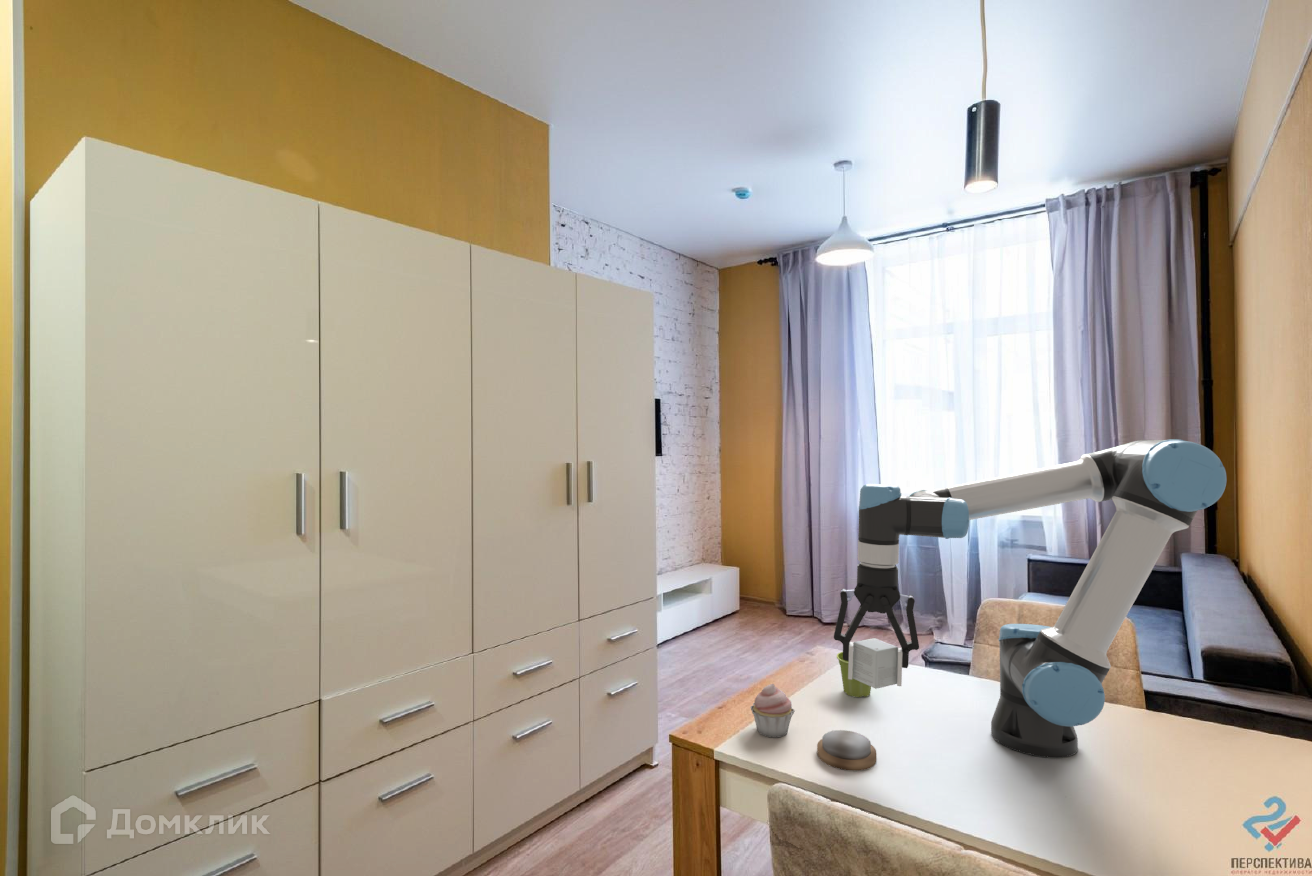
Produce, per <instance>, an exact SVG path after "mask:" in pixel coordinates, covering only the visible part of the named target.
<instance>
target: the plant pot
mask: <svg viewBox="0 0 1312 876" xmlns="http://www.w3.org/2000/svg"><path fill="white" fill-rule="evenodd" d="M836 660H838V663H839V667H840V673H841V679H842V688H843V692H844V693H845V695H848V696H849V697H854V698H861V697H865V698H866V697H870V695H871V691H872V687H871V686H869V685H866V684H864V683H862V682H860V681H857V680H855V679H853V674H852V680H851V679H848V665H849V661H847V660H843V651H840V652H838V653H837V654H836Z"/></svg>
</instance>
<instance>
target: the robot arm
mask: <svg viewBox="0 0 1312 876" xmlns="http://www.w3.org/2000/svg"><path fill="white" fill-rule="evenodd" d="M1226 486H1227V471H1226V468H1225V466H1224V465H1223V462H1222V461H1221V459H1220V457H1218V455H1217V454H1216V453H1215V452H1214V451H1212V450H1211V449H1210V448H1208V447H1206V446H1204V445H1203V444H1200V443H1197V442H1193V441H1187V440H1184V439H1179V438H1178V439H1177V438H1173V439H1172V438H1171V439H1165V440H1163V439H1160V440H1159V439H1141V440H1140V439H1139V440H1134V441H1131V442H1127V443H1124V444H1119V445H1117V446H1115V447H1114V446H1113V447H1109V448H1106V449H1102V450H1099V451H1098V450H1097V451H1094V452H1089V453H1085V454H1081V455H1080V458H1079V459H1078V460H1076V461H1072V462H1066V463H1062V464H1061V463H1060V464H1056V465H1051V466H1046V467H1042V468H1036V469H1032V470H1026V471H1020V472H1016V473H1010V474H1005V475H1001V476H997V477H996V476H995V477H991V478H986V479H981V480H976V481H970V482H966V483H962V484H961V483H960V484H955V485H950V486H946V487H942V488H936V489H935V488H934V489H931V490H925V489H921V490H917V491H914V492H912V493H910V494H909V495H907V496H906V495H902V492H901V488H900V486H899V485H894V484H893V485H892V484H884V483H883V484H881V483H867V484H865V485H863V486H862V487H860V491H859V492H860V493H859V501H858V502H859V503H858V536H857V538H858V539H857V560H858V562H859V563H858V564H857V568H856V569H857V571H856V575H857V576H856V586H855V587H854V589H846V588H842V589H840V594H839V595H840V601H841V603H840V607H839V612H838V616H837V619H836V623H835V624H836V625H835V630H834V632H833V640H834V641H837V642H840V643H841V644H842V652H843V660H847V661H849V665H848V679H851V680H852V674H853V643H854V641H852V639H853V637H854V635H855V634H856V631H857V629H858V628H859V626H860V624H861V623H862V620H863V619H864V616H866V613H867V612H868V613H878V614H879V613H880V614H886V617H887V619H888V620H889V623H890V625H891V627H892V629H893V632H894V634H895V636H896V638H897V640H898V643H899V645H900V647H898V664H897V684H896V686H897V687H902V683H903V682H902V681H903V677H902V676H903V669H908V667H909V655H910V652H912V651H914V650H915V651H918V650H919V649H920V643H919V638H918V632H917V626H916V621H915V615H914V614H915V613H914V607H915V602H916V601H915V598H914V595H913V594H909V595H906V594H901V593H900V590H899V587H898V585H899V583H898V582H899V568H898V566H897V565H898V564H899V554H900V553H899V552H900V536H901V535H902V536H914V537H915V536H918V537H930V538H931V537H932V538H943V539H962V538H963V539H964V538H965V537H966V536H967V534H968V532H969V527H970V521H971V520H977V519H983V518H987V517H993V516H994V517H995V516H999V515H1003V514H1005V515H1006V514H1009V513H1010V514H1011V513H1017V512H1021V511H1028V510H1031V509H1032V510H1033V509H1038V508H1043V507H1044V508H1045V507H1048V506H1054V505H1059V504H1061V505H1062V504H1066V503H1069V502H1077V501H1081V500H1088V499H1090V500H1092V501H1094V502H1096V503H1101V502H1105V501H1106V502H1107V501H1112V502H1113V505H1114V506H1115V510H1116V511H1115V512H1114V515H1113V516H1112V518H1111V520H1110V522H1109V524H1108V526H1107V528H1106V529H1105V531H1104V533H1103V535H1102V537H1101V539H1100V541H1099V543H1098V544H1097V546H1096V548H1095V549H1094V551H1093V553H1092V556H1091V557H1090V559H1089V560H1088V563H1087V565H1086V567H1085V568H1084V570H1083V572H1082V574H1081V576H1080V577H1079V579H1078V582H1077V583H1076V585H1075V586H1074V588H1073V590H1072V592H1071V595H1070V596H1069V598H1068V600H1067V602H1066V604H1065V606H1064V607H1063V609H1062V611H1061V613H1060V614H1059V617H1058V618H1057V620H1056V622H1055V624H1053V626H1048V625H1042V624H1032V623H1029V624H1028V623H1007V624H1003V625H1002V626H1001V627H1000V629H999V636H998V637H999V638H998V642H999V689H1000V690H999V691H1000V695H999V699H998V702H997V704H996V707H995V710H994V712H993V715H992V718H991V722H990V729H991V730H990V731H991V732H990V733H991V736H992V737H993V739H994V740H996V741H997V742H998V743H1000V744H1001V745H1003V746H1005V747H1006V748H1009V749H1011V750H1012V751H1013V750H1014V751H1017V752H1020V753H1023V754H1026V755H1031V756H1035V757H1040V758H1053V759H1055V758H1058V759H1059V758H1066V757H1070V756H1073V755H1075V754H1076V753H1077V752H1078V750H1079V742H1078V739H1079V738H1078V735H1077V731H1076V729H1075V727H1078V726H1083V725H1086V724H1089V723H1090V722H1092V721H1093V720H1096V718H1097V717H1098V716H1099V715H1100V714H1101V712H1102V710H1103V708H1104V706H1105V701H1106V697H1105V696H1106V693H1105V689H1104V686H1103V683H1104V680H1105V678H1106V676H1107V675H1108V673H1109V671H1110V670H1111V667H1112V665H1111V663H1110V661H1109V659H1108V656H1107V654H1108V653H1107V652H1108V650H1109V648H1110V647H1111V645H1112V643H1113V641H1114V639H1115V637H1116V636H1117V634H1118V633H1119V630H1120V628H1121V627H1122V625H1123V623H1124V621H1125V619H1126V618H1127V617H1128V615H1129V612H1130V610H1131V608H1132V607H1133V604H1134V603H1135V601H1137V598H1138V596H1139V594H1140V592H1141V591H1142V588H1143V587H1144V585H1145V583H1146V581H1147V580H1148V578H1149V576H1150V575H1151V573H1152V571H1153V569H1154V567H1155V565H1156V563H1157V562H1158V560H1159V559H1160V557H1161V554H1162V553H1163V552H1164V549H1165V547H1166V545H1167V543H1169V542H1168V541H1169V540H1170V538H1171V536H1172V534H1174V533H1175V532H1178V531H1182V530H1186V529H1189V527H1190V526H1191V523H1192V522H1193V520H1194V519H1195V516H1196V515H1197V513H1198V511H1202V510H1205V509H1207V508H1208V507H1210V506H1212V505H1214V504H1216V503H1217V502H1218V501H1219V500H1220V498H1222V496H1223V494H1224V492H1225V489H1226ZM853 597H855V598H856V599H857V601H858V602H859V603H860V605H859V607H858V609H857V611H856V614H855V615H854V616H853V619H852V621H851V623H850V624H849V627H848V628H847V630H846V631H845V634H843V627H844V621H845V618H846V613H847V610H848V605H849V602H851V601H852V598H853ZM899 601H901V604H902V606H903V608H905V613H906V618H907V624H908V630H909V637H910V641H907V639H906V637H905V634H904V632H903V630H902V629H903V628H902V627H901V625H900V623H899V620H898V618H897V615H896V614H895V611H894V606H895V605H896V604H897V603H898V602H899Z"/></svg>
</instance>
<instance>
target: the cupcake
mask: <svg viewBox="0 0 1312 876" xmlns="http://www.w3.org/2000/svg"><path fill="white" fill-rule="evenodd" d="M750 710H751V713H752V716H753V717H754V721H755V726H756V729H757V730H756V731H757V732H758V733H759V734H760V735H762V736H764V737H768V738H780V737H784V736H786V735H787V734H788V731H789V727H790V723H791V719H792V717H793V715H794V714H795V711H796V709H794V708H793V705H792V701H791V700H790V698H789V697H788V696H787V694H786V693H785V692H784V690H781V689H780V688H778V687H776V686H775V684H774V683H770V684H768V685H766V686H764V687H763V689H762V690H761V692H758V694H757V695H756V696H755V698H754V702H753V703H752V705H751V706H750Z"/></svg>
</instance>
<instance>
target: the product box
mask: <svg viewBox="0 0 1312 876" xmlns="http://www.w3.org/2000/svg"><path fill="white" fill-rule="evenodd" d="M898 648H899V647H898V646H896V645H893V644H891V643H888V642H885V641H883V640H881V639H879V638H875V637H874V638H868V639H863V640H857V641H853V679H855V680H857V681H860V682H862V683H864V684H866V685H869V686H871V688H873V689H876V690H877V689H880V688H881V689H882V688H885V687H889V686H894V685H897V664H898Z"/></svg>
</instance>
